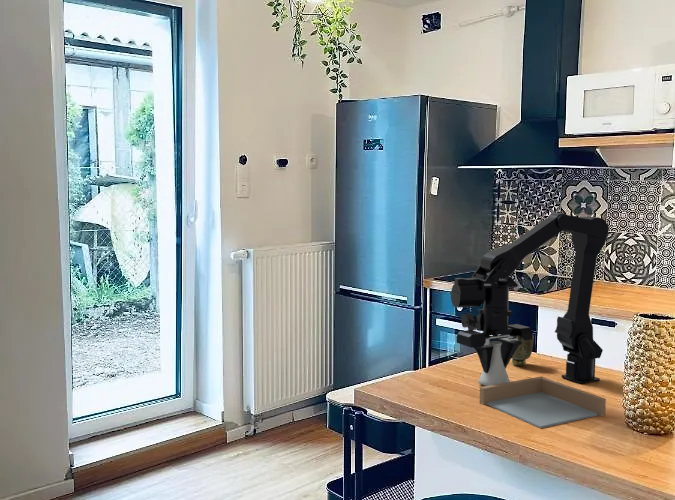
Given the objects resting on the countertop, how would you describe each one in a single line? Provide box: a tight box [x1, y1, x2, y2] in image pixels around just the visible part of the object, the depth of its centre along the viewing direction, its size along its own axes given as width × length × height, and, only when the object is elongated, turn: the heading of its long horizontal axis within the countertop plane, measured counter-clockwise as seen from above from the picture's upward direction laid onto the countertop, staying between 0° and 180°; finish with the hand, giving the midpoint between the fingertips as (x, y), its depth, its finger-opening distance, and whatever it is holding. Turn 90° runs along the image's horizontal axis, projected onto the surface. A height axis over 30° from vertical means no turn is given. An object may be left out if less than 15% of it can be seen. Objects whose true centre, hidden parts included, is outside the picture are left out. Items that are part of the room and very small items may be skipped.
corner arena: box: [479, 376, 607, 429], centre depth 135 cm, size 18×18×4 cm
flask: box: [477, 340, 511, 386], centre depth 152 cm, size 7×7×10 cm
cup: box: [511, 334, 535, 367], centre depth 170 cm, size 8×7×8 cm
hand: (494, 371), depth 152 cm, fingers closed on flask, 5 cm apart
